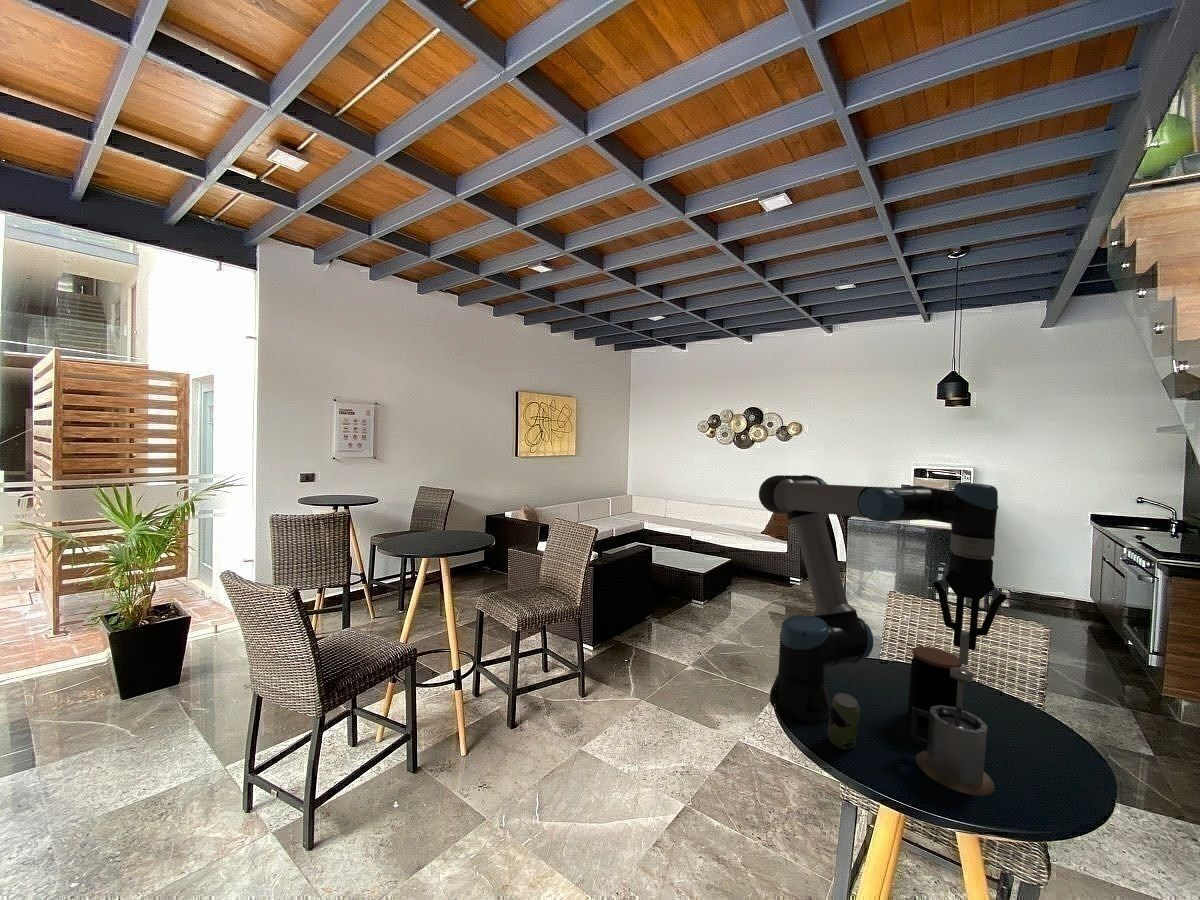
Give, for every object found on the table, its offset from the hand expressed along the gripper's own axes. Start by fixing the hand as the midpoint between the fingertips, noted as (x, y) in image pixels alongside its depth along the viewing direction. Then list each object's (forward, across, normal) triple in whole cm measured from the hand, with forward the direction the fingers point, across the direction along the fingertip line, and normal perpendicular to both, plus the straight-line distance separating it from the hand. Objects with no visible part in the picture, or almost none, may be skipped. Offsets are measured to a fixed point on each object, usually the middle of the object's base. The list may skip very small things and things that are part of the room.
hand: (963, 662), depth 105 cm
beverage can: (+25, -21, -7) cm, 34 cm away
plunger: (+15, 0, 0) cm, 15 cm away
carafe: (+25, -2, 0) cm, 25 cm away
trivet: (+25, 0, 0) cm, 25 cm away
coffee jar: (+25, -6, +20) cm, 33 cm away
